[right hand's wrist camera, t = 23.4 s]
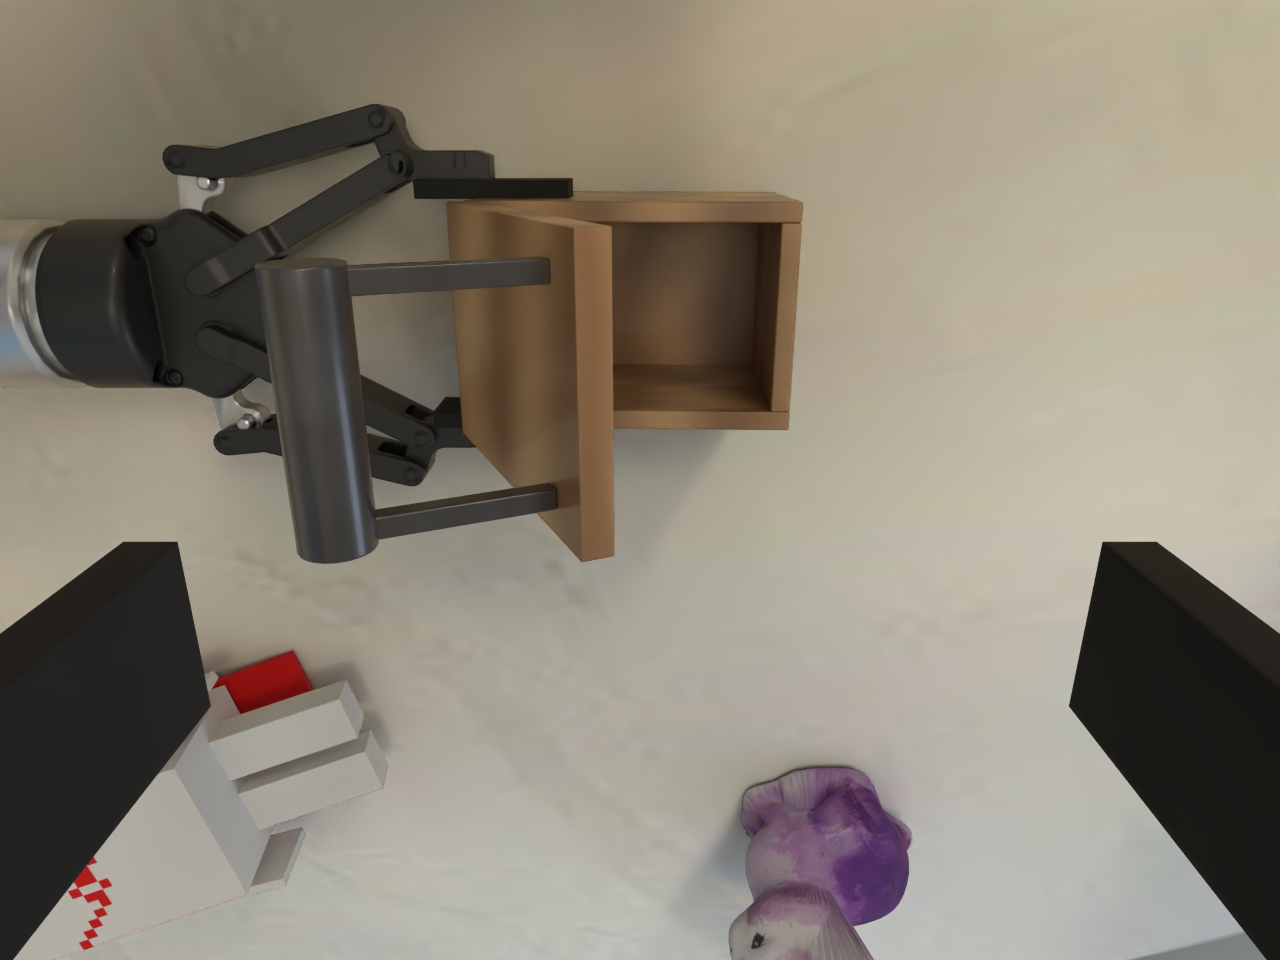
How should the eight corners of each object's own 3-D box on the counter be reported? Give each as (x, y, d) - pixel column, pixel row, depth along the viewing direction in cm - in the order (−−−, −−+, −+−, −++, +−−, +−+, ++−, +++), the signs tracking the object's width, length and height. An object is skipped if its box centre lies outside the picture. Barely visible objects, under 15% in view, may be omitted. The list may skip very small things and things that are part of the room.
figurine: (701, 816, 57) (721, 1031, 43) (823, 728, 55) (886, 926, 41) (792, 897, 60) (839, 1126, 45) (912, 816, 57) (1001, 1032, 43)
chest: (774, 192, 43) (803, 202, 34) (764, 376, 47) (788, 430, 38) (505, 191, 44) (462, 200, 35) (514, 374, 47) (477, 427, 38)
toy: (390, 882, 47) (-154, 1068, 46) (417, 737, 59) (-9, 880, 58) (296, 698, 43) (-302, 898, 42) (347, 585, 55) (-112, 736, 54)
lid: (612, 225, 22) (252, 238, 19) (615, 556, 26) (309, 616, 22) (472, 201, 34) (235, 205, 31) (486, 429, 38) (274, 456, 34)
